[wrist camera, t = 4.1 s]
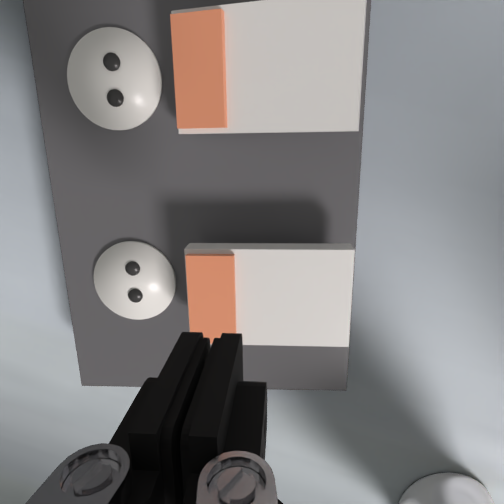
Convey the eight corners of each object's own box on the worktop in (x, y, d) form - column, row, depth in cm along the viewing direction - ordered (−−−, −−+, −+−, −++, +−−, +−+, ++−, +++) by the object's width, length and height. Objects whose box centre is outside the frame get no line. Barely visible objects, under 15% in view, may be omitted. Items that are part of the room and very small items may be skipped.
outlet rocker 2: (350, 243, 17) (356, 251, 16) (344, 335, 18) (349, 350, 17) (189, 242, 17) (182, 251, 16) (194, 333, 18) (188, 347, 17)
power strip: (375, -342, 15) (408, -498, 11) (330, 476, 26) (340, 532, 22) (16, -316, 16) (-62, -456, 12) (119, 469, 26) (95, 523, 23)
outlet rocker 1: (366, -2, 14) (366, -16, 12) (358, 131, 15) (357, 130, 14) (183, 18, 16) (167, 8, 14) (189, 134, 17) (175, 133, 16)
